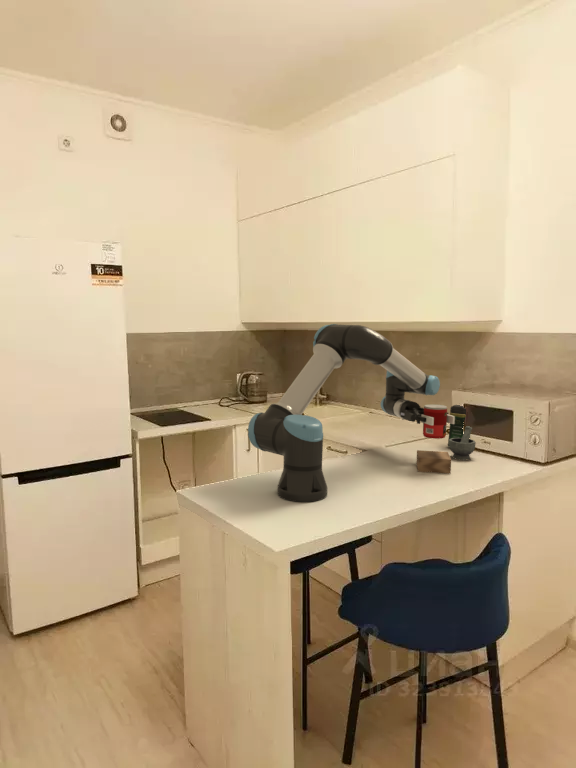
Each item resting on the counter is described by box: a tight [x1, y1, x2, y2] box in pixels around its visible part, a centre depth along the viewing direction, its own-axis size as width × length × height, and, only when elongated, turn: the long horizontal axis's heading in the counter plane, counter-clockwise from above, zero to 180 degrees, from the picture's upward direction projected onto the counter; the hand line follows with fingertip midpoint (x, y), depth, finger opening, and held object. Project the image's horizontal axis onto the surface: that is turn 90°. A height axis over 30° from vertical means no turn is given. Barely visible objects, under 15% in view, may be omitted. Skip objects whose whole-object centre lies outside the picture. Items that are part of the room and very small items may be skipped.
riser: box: [415, 449, 452, 474], centre depth 194 cm, size 11×11×5 cm
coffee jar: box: [447, 404, 466, 448], centre depth 225 cm, size 10×8×19 cm
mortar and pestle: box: [448, 426, 477, 461], centre depth 209 cm, size 11×9×12 cm
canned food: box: [422, 404, 448, 440], centre depth 192 cm, size 8×8×11 cm
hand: (443, 420), depth 187 cm, fingers closed on canned food, 8 cm apart
